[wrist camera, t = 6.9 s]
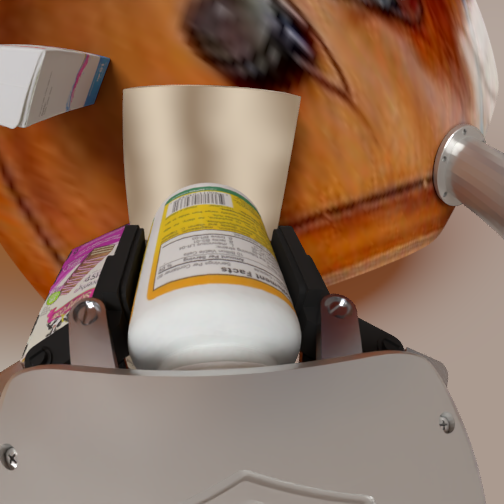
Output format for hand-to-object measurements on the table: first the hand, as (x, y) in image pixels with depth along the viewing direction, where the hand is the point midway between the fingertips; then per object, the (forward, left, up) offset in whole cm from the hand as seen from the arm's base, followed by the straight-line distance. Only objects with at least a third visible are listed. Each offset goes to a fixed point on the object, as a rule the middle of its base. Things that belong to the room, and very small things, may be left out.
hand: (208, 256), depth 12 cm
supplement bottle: (0, 0, -2) cm, 2 cm away
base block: (0, 0, -16) cm, 16 cm away
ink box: (+14, -9, -16) cm, 23 cm away
